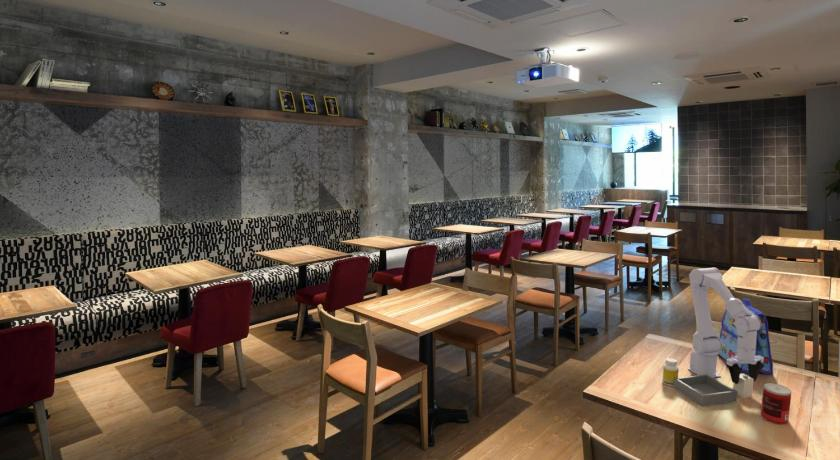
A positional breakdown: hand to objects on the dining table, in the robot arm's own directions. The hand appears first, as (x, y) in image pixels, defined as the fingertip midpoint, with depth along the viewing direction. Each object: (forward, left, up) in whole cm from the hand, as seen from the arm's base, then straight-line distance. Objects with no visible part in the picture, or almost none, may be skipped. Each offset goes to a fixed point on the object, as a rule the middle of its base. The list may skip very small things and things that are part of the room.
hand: (743, 381), depth 182 cm
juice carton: (0, 0, -5) cm, 5 cm away
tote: (-3, -14, -5) cm, 15 cm away
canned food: (+17, -4, -5) cm, 18 cm away
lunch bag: (-23, +23, -5) cm, 33 cm away
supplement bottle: (-14, -20, -5) cm, 25 cm away
